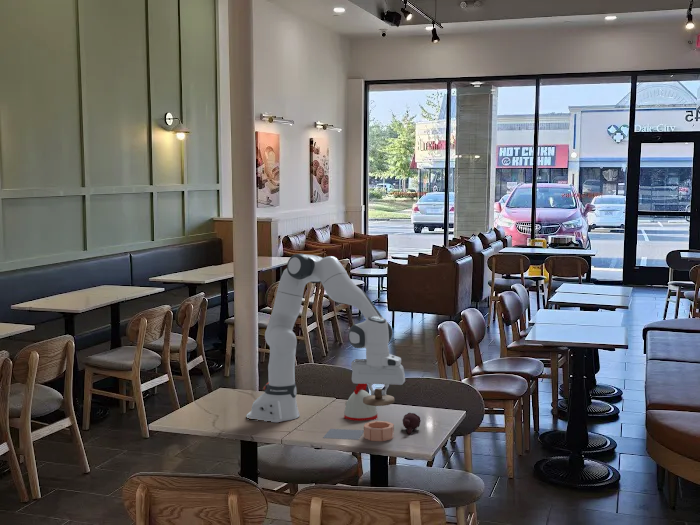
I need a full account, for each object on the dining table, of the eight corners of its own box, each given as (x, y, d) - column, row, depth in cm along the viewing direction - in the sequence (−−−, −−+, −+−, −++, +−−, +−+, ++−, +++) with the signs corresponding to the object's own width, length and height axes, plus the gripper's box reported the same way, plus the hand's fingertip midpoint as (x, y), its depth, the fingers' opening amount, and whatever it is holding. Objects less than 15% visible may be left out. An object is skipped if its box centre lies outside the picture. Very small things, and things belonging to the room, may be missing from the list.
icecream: (404, 408, 323) (395, 421, 309) (421, 404, 320) (413, 418, 306) (409, 424, 323) (400, 438, 309) (426, 421, 321) (418, 435, 307)
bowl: (362, 441, 301) (361, 428, 300) (368, 433, 311) (367, 420, 311) (390, 443, 298) (390, 429, 298) (395, 434, 309) (395, 421, 308)
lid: (359, 405, 299) (359, 392, 299) (366, 396, 311) (366, 384, 311) (391, 406, 297) (390, 393, 296) (397, 398, 308) (396, 385, 308)
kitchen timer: (383, 416, 335) (383, 381, 334) (364, 423, 324) (363, 387, 323) (357, 411, 344) (356, 377, 342) (337, 418, 333) (336, 383, 331)
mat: (322, 439, 305) (322, 437, 305) (330, 430, 316) (330, 428, 316) (358, 441, 302) (358, 439, 301) (365, 431, 313) (365, 430, 313)
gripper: (349, 360, 302) (350, 396, 303) (402, 361, 297) (403, 398, 298) (352, 357, 308) (353, 392, 309) (405, 358, 303) (406, 393, 304)
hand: (378, 395), depth 304 cm, fingers closed on lid, 3 cm apart
